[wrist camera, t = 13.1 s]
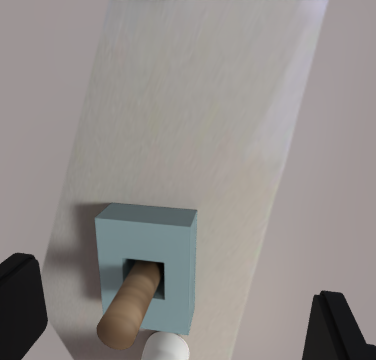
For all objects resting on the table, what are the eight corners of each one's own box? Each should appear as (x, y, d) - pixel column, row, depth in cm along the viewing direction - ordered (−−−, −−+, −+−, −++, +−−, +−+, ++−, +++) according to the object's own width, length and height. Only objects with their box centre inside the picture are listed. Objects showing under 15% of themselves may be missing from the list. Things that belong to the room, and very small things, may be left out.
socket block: (111, 202, 42) (94, 218, 37) (197, 210, 40) (190, 227, 35) (117, 298, 47) (103, 322, 42) (194, 308, 45) (188, 335, 40)
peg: (140, 243, 43) (95, 314, 30) (167, 246, 42) (133, 320, 29) (141, 267, 44) (98, 346, 31) (168, 271, 43) (135, 352, 30)
